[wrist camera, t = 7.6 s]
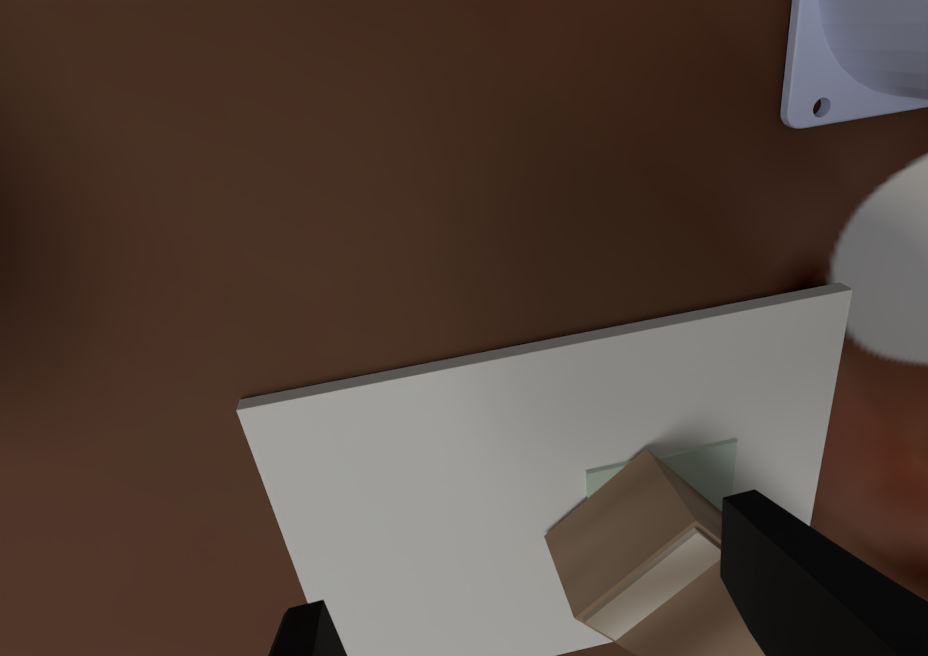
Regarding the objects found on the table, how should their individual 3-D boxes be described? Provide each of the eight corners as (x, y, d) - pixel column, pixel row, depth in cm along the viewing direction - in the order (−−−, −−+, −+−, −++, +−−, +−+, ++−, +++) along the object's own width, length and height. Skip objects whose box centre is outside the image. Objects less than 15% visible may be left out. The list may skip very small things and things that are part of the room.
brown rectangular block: (762, 545, 24) (824, 625, 21) (667, 617, 26) (713, 704, 22) (646, 448, 21) (698, 524, 18) (544, 536, 22) (576, 623, 19)
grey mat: (839, 282, 20) (857, 291, 20) (788, 586, 27) (799, 601, 27) (239, 399, 19) (235, 414, 18) (346, 691, 26) (346, 710, 25)
